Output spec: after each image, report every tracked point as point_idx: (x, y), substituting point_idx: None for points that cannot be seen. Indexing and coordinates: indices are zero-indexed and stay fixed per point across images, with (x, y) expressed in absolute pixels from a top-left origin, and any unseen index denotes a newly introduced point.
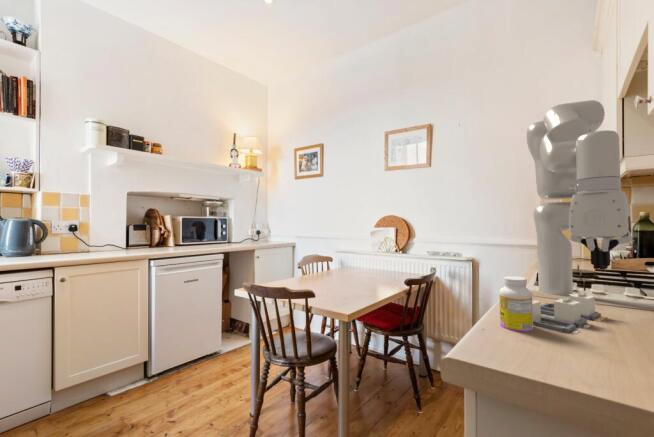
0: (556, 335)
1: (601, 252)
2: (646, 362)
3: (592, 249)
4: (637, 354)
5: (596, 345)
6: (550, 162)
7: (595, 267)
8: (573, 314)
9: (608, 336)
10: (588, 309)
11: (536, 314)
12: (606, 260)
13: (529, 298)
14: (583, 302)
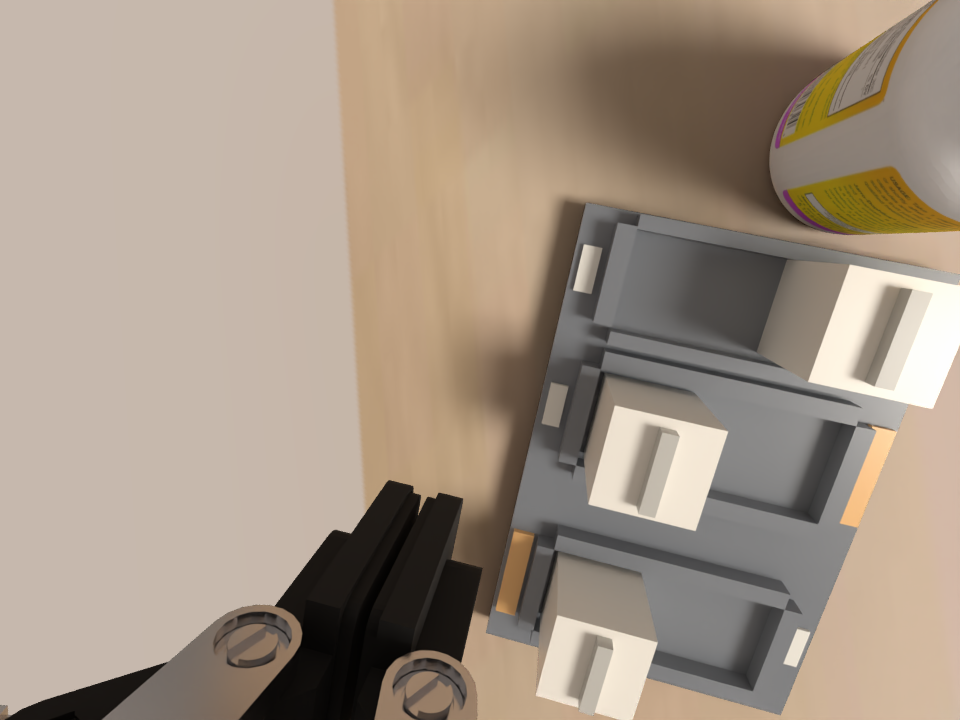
0: None
1: (317, 591)
2: (347, 138)
3: (419, 680)
4: (376, 216)
5: (505, 221)
6: None
7: (445, 496)
8: (610, 387)
9: (478, 390)
10: (559, 575)
11: (793, 311)
12: (324, 556)
13: (900, 54)
14: (582, 602)
